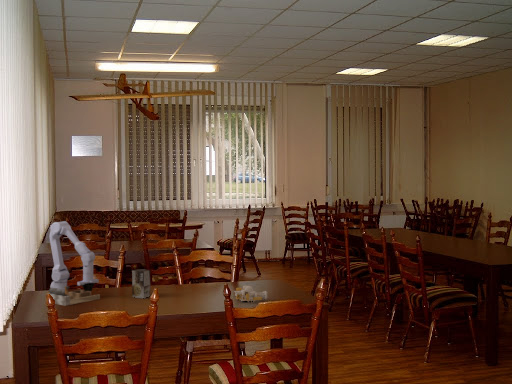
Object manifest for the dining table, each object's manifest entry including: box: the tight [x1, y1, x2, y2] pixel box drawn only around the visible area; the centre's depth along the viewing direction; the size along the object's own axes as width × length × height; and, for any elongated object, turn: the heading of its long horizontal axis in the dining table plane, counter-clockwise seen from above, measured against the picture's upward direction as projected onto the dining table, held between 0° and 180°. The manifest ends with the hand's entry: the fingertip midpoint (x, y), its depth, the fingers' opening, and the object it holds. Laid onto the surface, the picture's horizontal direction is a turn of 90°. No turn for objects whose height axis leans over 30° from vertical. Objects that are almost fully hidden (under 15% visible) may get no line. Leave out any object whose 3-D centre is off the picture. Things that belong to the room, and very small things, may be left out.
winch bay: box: [46, 285, 101, 307], centre depth 388 cm, size 16×25×11 cm, turn 146°
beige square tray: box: [68, 289, 92, 300], centre depth 391 cm, size 9×9×4 cm
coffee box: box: [131, 268, 151, 299], centre depth 403 cm, size 9×6×16 cm
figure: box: [233, 285, 268, 302], centre depth 394 cm, size 17×18×9 cm
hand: (88, 296), depth 397 cm, fingers closed
